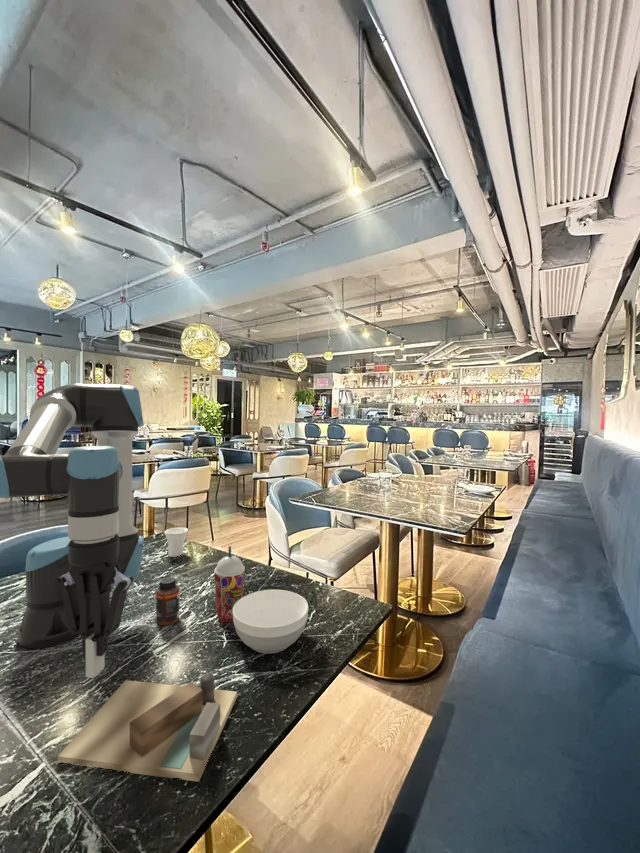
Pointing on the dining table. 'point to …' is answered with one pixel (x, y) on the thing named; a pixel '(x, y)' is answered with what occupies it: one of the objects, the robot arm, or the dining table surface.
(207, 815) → the dining table surface
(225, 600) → the smoothie
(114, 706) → the board
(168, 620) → the supplement bottle
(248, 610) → the bowl
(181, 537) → the cup
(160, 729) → the leg
